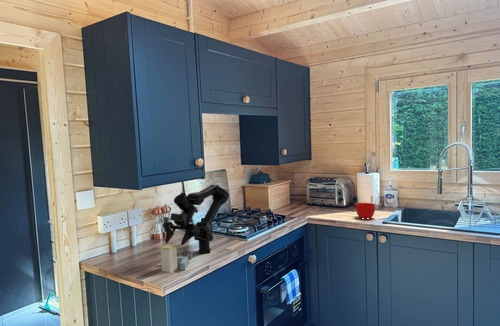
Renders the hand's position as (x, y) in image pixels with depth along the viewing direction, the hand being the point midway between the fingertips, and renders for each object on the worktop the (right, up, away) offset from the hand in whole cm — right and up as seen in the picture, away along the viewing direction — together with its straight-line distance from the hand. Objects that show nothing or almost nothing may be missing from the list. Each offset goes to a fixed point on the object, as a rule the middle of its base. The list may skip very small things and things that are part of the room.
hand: (173, 243), depth 167 cm
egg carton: (+2, -11, +10) cm, 15 cm away
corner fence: (0, -11, 0) cm, 11 cm away
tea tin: (-1, -11, -3) cm, 12 cm away
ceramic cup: (+117, -1, +86) cm, 146 cm away
